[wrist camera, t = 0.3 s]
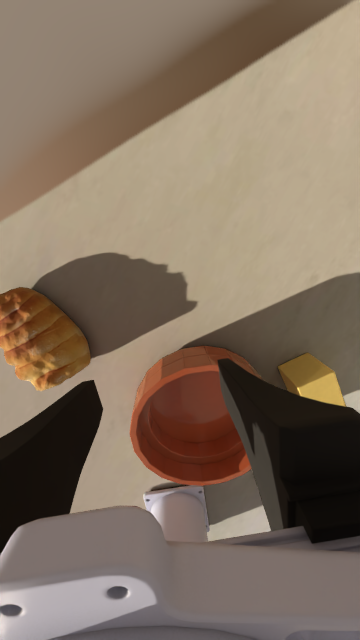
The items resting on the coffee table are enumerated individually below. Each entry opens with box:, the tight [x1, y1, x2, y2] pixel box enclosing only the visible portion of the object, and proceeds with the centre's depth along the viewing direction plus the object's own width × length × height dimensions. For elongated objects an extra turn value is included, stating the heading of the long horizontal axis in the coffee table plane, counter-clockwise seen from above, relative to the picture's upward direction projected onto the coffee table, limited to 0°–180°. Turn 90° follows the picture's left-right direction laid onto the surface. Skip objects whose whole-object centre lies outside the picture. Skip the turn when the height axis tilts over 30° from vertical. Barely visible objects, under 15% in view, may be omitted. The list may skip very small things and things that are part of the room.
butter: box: [278, 353, 346, 407], centre depth 23 cm, size 8×4×4 cm, turn 28°
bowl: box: [130, 346, 263, 486], centre depth 22 cm, size 14×14×4 cm
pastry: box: [0, 287, 90, 391], centre depth 19 cm, size 9×7×4 cm
